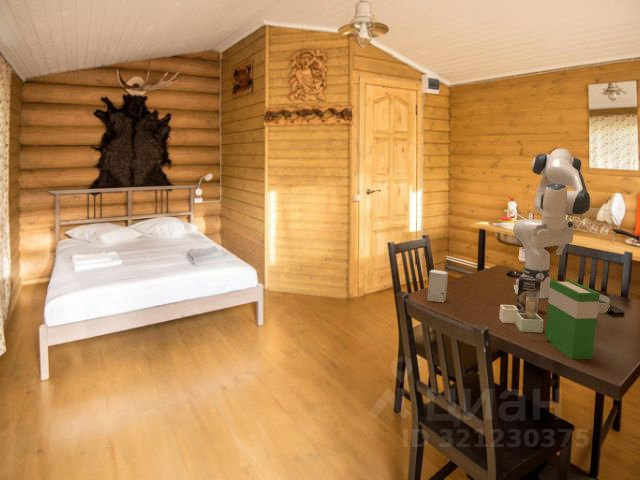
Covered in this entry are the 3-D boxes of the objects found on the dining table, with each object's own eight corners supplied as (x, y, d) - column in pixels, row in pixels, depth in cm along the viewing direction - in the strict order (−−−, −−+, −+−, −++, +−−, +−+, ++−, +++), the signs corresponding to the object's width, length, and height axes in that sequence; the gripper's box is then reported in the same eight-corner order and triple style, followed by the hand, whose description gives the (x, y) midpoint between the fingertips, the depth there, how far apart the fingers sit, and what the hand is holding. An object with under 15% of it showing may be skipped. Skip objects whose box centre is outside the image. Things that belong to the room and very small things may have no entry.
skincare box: (426, 300, 220) (428, 271, 217) (429, 297, 225) (431, 269, 222) (444, 303, 216) (445, 273, 213) (446, 299, 221) (448, 271, 219)
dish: (594, 299, 222) (595, 290, 221) (619, 314, 201) (620, 304, 200) (548, 298, 224) (549, 288, 223) (568, 313, 203) (569, 302, 202)
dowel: (522, 327, 183) (525, 292, 180) (530, 326, 183) (533, 292, 181) (526, 330, 180) (529, 294, 177) (535, 330, 180) (538, 294, 177)
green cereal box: (544, 339, 173) (550, 279, 169) (563, 338, 174) (569, 279, 169) (571, 359, 156) (578, 293, 152) (592, 358, 156) (599, 293, 152)
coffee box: (515, 313, 202) (518, 278, 199) (516, 308, 208) (519, 275, 205) (537, 316, 198) (540, 281, 195) (538, 311, 204) (541, 278, 201)
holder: (515, 326, 186) (516, 312, 185) (535, 327, 185) (536, 313, 184) (520, 333, 178) (522, 319, 177) (542, 334, 177) (543, 320, 176)
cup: (499, 319, 194) (500, 304, 192) (513, 320, 193) (514, 305, 191) (502, 324, 188) (503, 309, 187) (517, 325, 187) (518, 309, 186)
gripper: (540, 227, 177) (537, 260, 180) (577, 222, 185) (574, 254, 188) (528, 224, 183) (525, 257, 186) (564, 220, 190) (561, 251, 193)
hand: (550, 255), depth 187 cm, fingers open, 8 cm apart
